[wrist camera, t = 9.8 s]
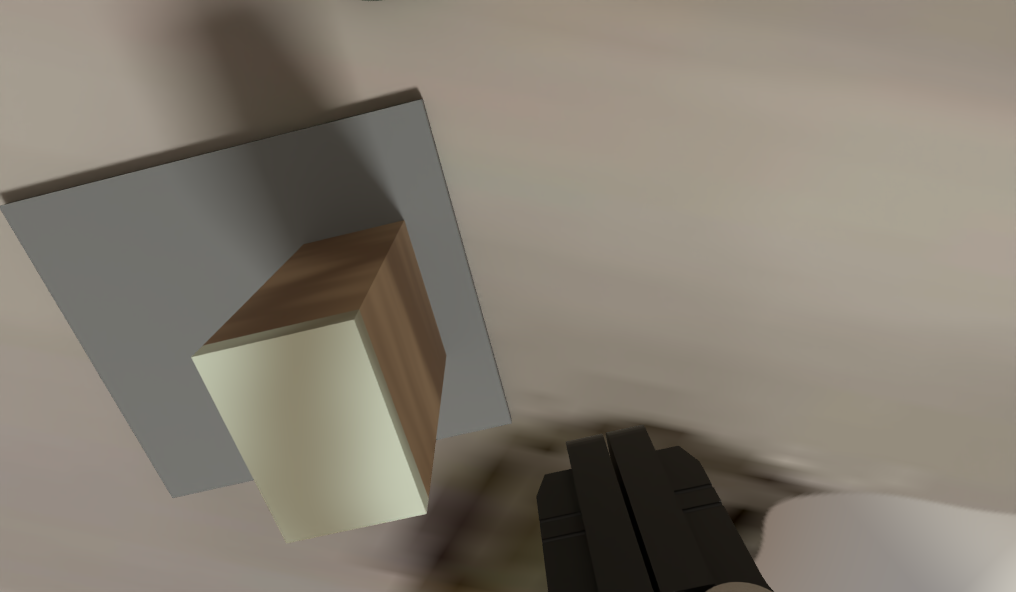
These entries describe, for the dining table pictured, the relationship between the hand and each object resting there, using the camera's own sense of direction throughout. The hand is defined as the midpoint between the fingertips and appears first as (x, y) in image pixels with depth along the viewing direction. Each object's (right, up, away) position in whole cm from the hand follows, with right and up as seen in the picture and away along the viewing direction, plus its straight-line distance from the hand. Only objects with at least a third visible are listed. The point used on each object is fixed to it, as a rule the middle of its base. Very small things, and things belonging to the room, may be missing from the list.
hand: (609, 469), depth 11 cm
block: (-7, +3, +12) cm, 14 cm away
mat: (-11, +2, +12) cm, 17 cm away
